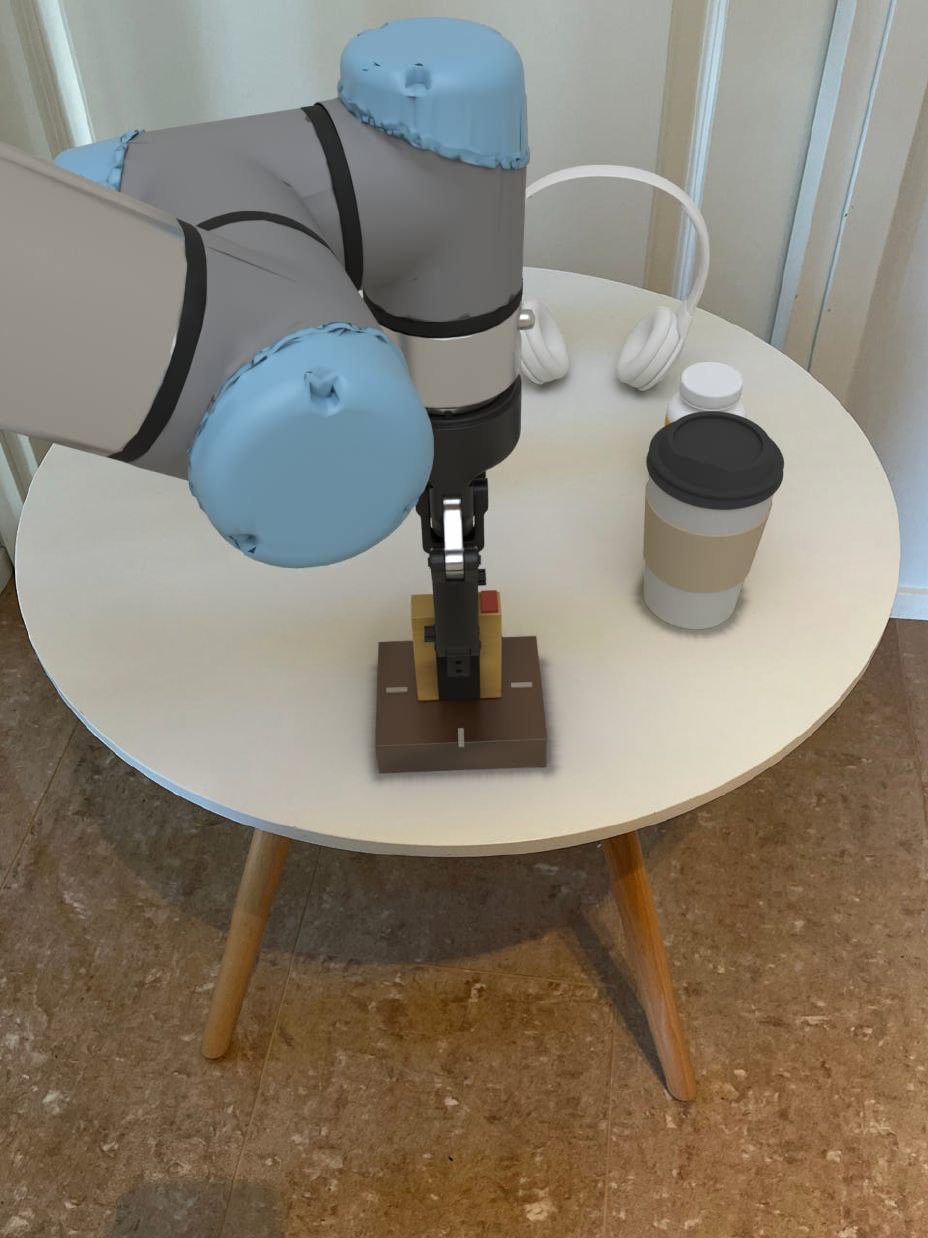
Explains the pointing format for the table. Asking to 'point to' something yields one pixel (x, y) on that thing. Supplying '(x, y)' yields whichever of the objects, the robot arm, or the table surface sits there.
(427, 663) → the lock knob
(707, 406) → the pill bottle
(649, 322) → the headphones
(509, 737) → the plate
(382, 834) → the table surface
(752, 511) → the coffee cup
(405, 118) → the robot arm
